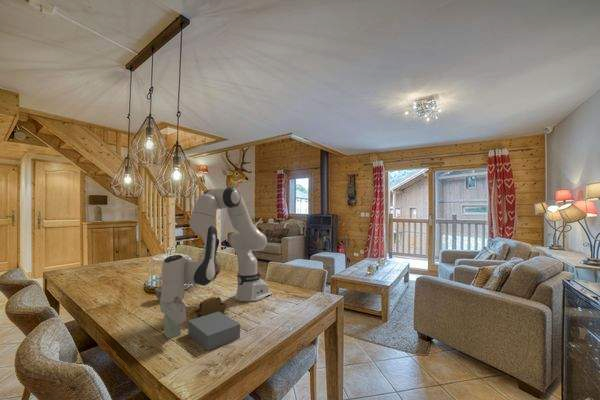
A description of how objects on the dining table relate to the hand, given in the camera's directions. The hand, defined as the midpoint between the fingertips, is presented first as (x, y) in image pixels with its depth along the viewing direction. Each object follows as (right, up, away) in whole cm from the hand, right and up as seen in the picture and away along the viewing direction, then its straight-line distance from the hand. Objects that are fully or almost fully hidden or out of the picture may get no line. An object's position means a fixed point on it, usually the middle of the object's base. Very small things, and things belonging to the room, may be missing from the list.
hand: (172, 327), depth 111 cm
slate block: (+18, -4, -1) cm, 18 cm away
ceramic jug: (-12, -4, +85) cm, 86 cm away
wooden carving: (+11, -4, +16) cm, 20 cm away
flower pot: (-23, -4, +39) cm, 45 cm away
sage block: (0, -3, 0) cm, 3 cm away
